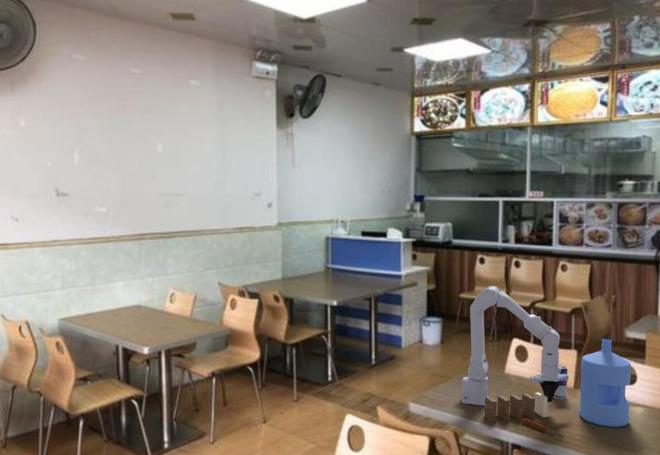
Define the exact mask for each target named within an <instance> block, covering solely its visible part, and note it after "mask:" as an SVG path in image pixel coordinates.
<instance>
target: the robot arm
mask: <svg viewBox="0 0 660 455" xmlns="http://www.w3.org/2000/svg"><path fill="white" fill-rule="evenodd" d="M495 305H496V307H499V308H505V309H507V310H508V311H510V312H511V313H512V314H513V315H515V316H516V317H517V318H518V319H520V320H521V321H522V322H523V327H524V328H525V329H526V330H528V331H529V332H530V333H531V334H532V335H533V336H535V337H536V338H537V339H539V340H540V342H541V344H542V349H541V362H540V374H536V375H533V376H532V375H531V376H529V383H532V384H536V383H537V384H539V385H540V388H541V390H542V393H543V395H544V396H546V397H547V403H552V402H553V400H554V398H553V397H554V394H555V392H556V390H557V388H558V387H559V383H558V382H557V381H564V380H565V381H567V382H568V381H569V378H570V377H569V375H568V374H567V375H566V374H558V365H560V364H559V363H560V362H559V359H560V353H559V352H560V351H559V345H560V338H561V337H560V334H559V332H557V330H556V329H554V328H553V327H552V326H549V325H547V323H545V322H544V321H543V320H542V317H541V316H538V315H535V314H529V313H528V312H527V311H526V310H525V309H524V308H523V307H522V306H520V305H519V303H517V302H516V301H515V300H514V299H513V298H512V297H510V295H508V294H507V293H506V292H505V291H503V290H501V289H500V288H499V287H497V286H495V285H489V286H487V287H485V288H484V289H483V290H481V291H480V292H479V293H478V294H477V296H476V297H475V299H474V300H473V302H472V303H471V305H470V307H469V310H470V311H469V315H470V346H471V349H470V350H471V353H470V360H469V366H468V368H467V375H468V376H463V377H462V385H461V386H462V391H461V404H465V405H466V404H468V405H476V406H484V407H485V397H489V394H488V391H489V388H488V387H489V377H488V376H487V373H488V372H489V370H490V367H489V366H490V365H489V363H488V360H487V354H486V352H485V351H486V349H485V347H486V346H485V316H484V315H485V314H484V312H485V311H486V310H488V309H489V308H490V307H493V306H495Z"/></svg>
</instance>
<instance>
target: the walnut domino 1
mask: <svg viewBox="0 0 660 455" xmlns="http://www.w3.org/2000/svg"><path fill="white" fill-rule="evenodd" d="M497 404H498V400H495V399H494V398H492V397H490V396H488V397H485V406H484V417H485V418H486V419H487V420H488V421H490V422H491V423H495V422H496V423H497Z"/></svg>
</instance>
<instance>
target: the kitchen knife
mask: <svg viewBox="0 0 660 455" xmlns="http://www.w3.org/2000/svg"><path fill="white" fill-rule="evenodd" d="M521 420H522V423H523V425H525V426H528V427H531V428H533V429H536V430H539V431H541V432H543V433H549V434H552V435H554V436H557V437H560V438H562V439H565V436H564V435H563V434H561V433H559V432H557V431H554V430H553V429H550V428H548V427H547V426H545V425H543V424H541V423H538V422H536V421H534V420H531V419H530V418H523V419H521Z"/></svg>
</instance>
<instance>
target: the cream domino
mask: <svg viewBox="0 0 660 455" xmlns="http://www.w3.org/2000/svg"><path fill="white" fill-rule="evenodd" d="M534 398H535V414H537V415H539V416H541V417H542V418H546V417H548V402H547V397H546V396H544V393H543V394H542V393H541V392H539V391H538V392H534Z"/></svg>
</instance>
